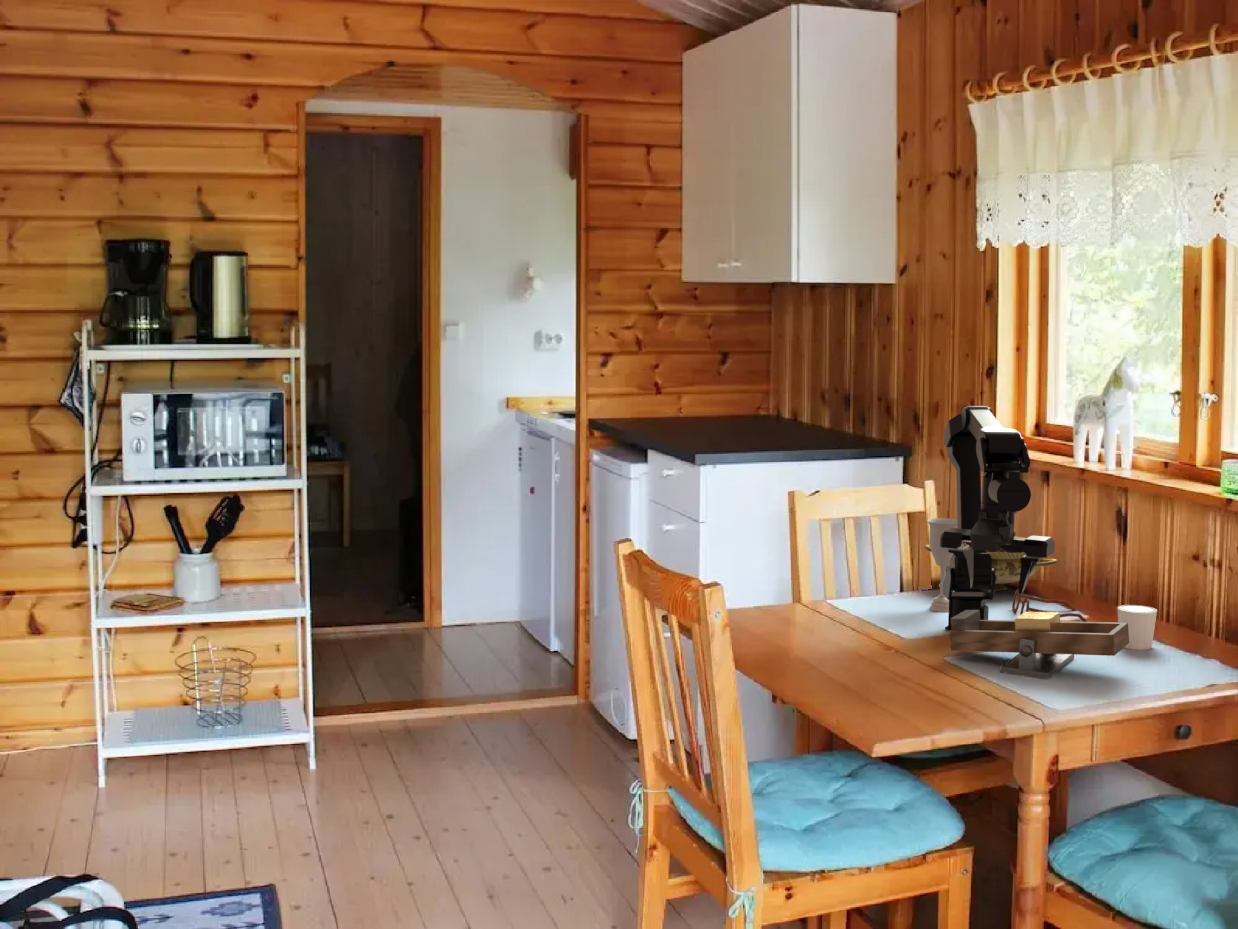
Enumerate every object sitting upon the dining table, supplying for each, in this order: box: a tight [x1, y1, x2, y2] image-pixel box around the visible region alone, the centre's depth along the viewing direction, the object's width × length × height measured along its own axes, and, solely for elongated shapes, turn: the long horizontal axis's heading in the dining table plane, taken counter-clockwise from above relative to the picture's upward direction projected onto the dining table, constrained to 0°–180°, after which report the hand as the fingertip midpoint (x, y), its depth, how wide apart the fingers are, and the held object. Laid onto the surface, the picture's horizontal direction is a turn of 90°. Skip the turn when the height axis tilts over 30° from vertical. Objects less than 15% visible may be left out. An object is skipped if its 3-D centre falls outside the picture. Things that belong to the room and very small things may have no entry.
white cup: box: [1117, 604, 1158, 651], centre depth 266 cm, size 7×7×7 cm
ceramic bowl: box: [924, 536, 1058, 592], centre depth 315 cm, size 30×24×10 cm
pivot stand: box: [999, 638, 1075, 680], centre depth 253 cm, size 8×16×6 cm, turn 148°
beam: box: [948, 610, 1129, 657], centre depth 253 cm, size 28×10×6 cm, turn 57°
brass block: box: [1014, 611, 1061, 632], centre depth 253 cm, size 6×6×4 cm
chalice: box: [927, 517, 958, 613], centre depth 294 cm, size 7×7×18 cm
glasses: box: [1011, 588, 1089, 622], centre depth 289 cm, size 13×13×5 cm
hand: (995, 591), depth 256 cm, fingers open, 9 cm apart
